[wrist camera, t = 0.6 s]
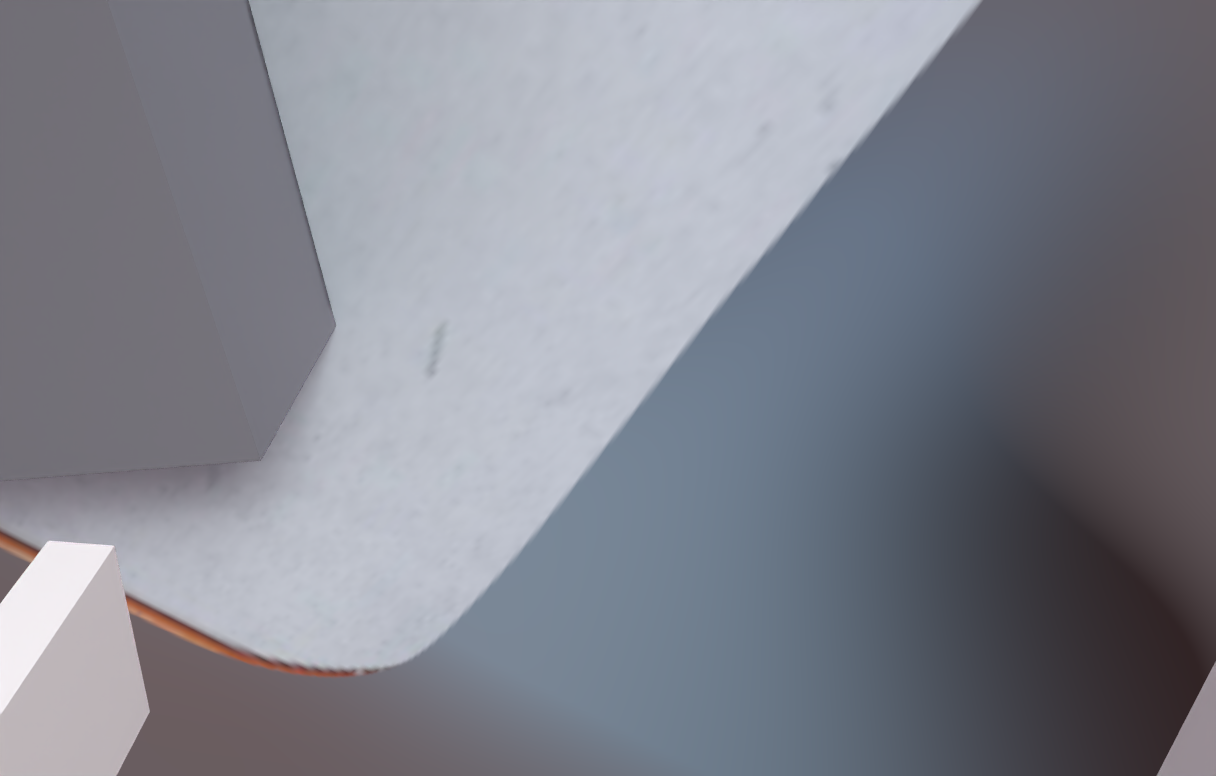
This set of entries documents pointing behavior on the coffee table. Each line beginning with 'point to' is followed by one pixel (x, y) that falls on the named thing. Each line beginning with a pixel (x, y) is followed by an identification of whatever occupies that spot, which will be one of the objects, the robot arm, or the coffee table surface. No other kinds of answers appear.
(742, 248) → the coffee table surface
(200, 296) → the housing
